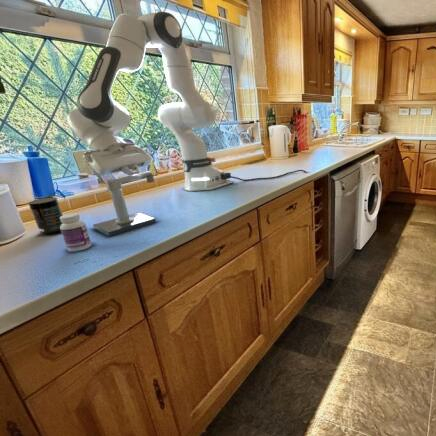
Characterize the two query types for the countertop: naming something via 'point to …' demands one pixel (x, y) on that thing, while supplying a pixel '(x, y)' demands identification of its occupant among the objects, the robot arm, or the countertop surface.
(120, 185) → the spout
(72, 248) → the pill bottle
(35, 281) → the countertop surface
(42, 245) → the countertop surface
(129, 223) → the tap stand
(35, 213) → the supplement container
